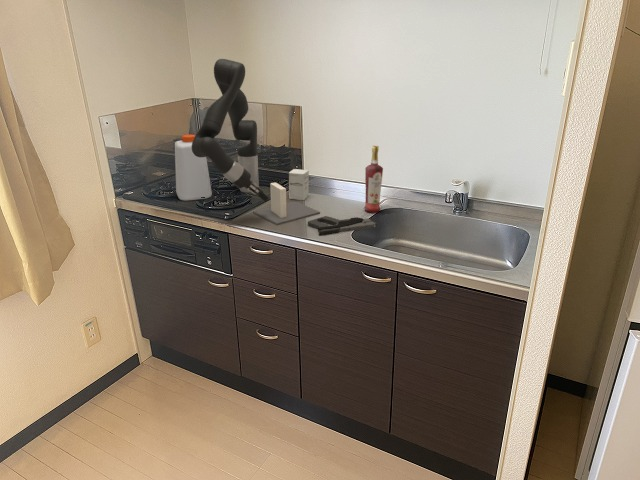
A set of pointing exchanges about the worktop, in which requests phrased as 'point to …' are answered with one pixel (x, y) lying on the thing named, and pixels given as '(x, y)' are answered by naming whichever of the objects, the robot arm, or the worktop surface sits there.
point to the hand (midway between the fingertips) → (266, 199)
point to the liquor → (373, 182)
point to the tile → (278, 199)
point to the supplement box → (298, 184)
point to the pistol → (340, 225)
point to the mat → (293, 213)
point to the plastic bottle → (190, 172)
